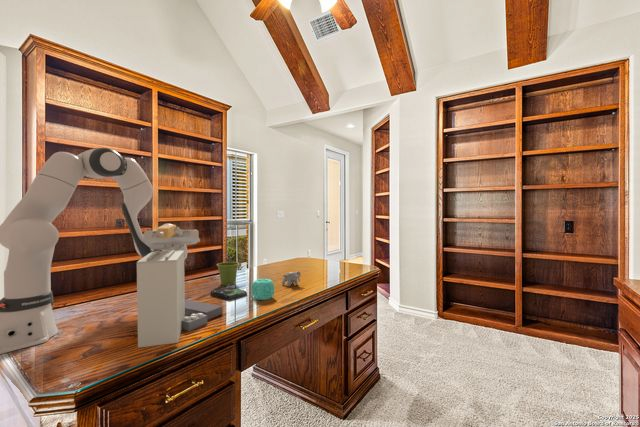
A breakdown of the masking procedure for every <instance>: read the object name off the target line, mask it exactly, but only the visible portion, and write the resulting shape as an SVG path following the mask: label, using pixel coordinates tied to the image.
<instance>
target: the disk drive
mask: <svg viewBox="0 0 640 427" xmlns="http://www.w3.org/2000/svg"><path fill="white" fill-rule="evenodd" d="M210 296H212V297H216V298H220V299H223V300H226V301H232V300H237V299H240V298H245V297H247V296H248V292H247V291H246V290H244V289H239V288H236V287H232V286H225V287H220V288H218V289H213V290H210Z"/></svg>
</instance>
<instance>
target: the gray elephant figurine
mask: <svg viewBox="0 0 640 427" xmlns="http://www.w3.org/2000/svg"><path fill="white" fill-rule="evenodd" d="M301 275H302V274H301V272H300V271H294V272H293V271H290V272H287V273H285V274H283V275H282V277H283V279H282V281H281V285H282V286H285V284H286V282H287V284H286V286H287V287H288V288H290V287H291V284H295V286H298V284H299V283H301V278H300V277H301Z"/></svg>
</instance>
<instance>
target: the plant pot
mask: <svg viewBox="0 0 640 427" xmlns="http://www.w3.org/2000/svg"><path fill="white" fill-rule="evenodd" d="M239 264H240V262H238V261H226V262H220V263H219V262H218V263H216V266H217V269H218V272H219V278H220V283H221V285H222V286H232V285H235V284H236V279H237V270H238V267H239Z"/></svg>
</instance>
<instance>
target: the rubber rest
mask: <svg viewBox="0 0 640 427" xmlns="http://www.w3.org/2000/svg"><path fill="white" fill-rule="evenodd" d="M196 313H203V314H204V315H207V321H208V320H212V319H213V318H216V317H218V316H220V315H223V306H222V305H217V304H214V303H213V304H211V303H207V302H201V301H198V300H197V301H196V300H191V299H185V317H186V316H187V317H189V316H191V314H196Z"/></svg>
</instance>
